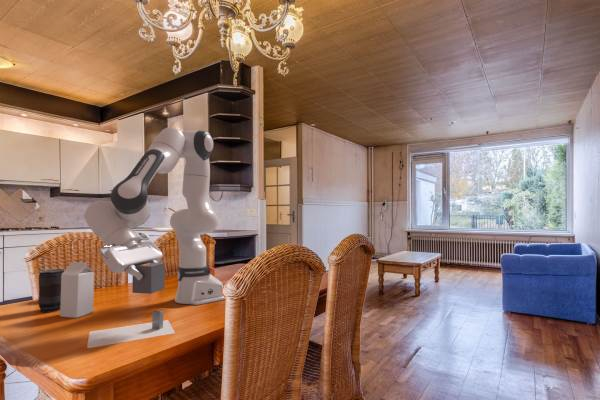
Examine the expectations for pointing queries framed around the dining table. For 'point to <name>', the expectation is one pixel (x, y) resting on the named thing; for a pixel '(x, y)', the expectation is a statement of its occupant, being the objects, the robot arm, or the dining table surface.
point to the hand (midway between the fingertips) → (150, 275)
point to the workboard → (127, 334)
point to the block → (150, 278)
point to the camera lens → (50, 290)
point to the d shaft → (157, 319)
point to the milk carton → (77, 290)
